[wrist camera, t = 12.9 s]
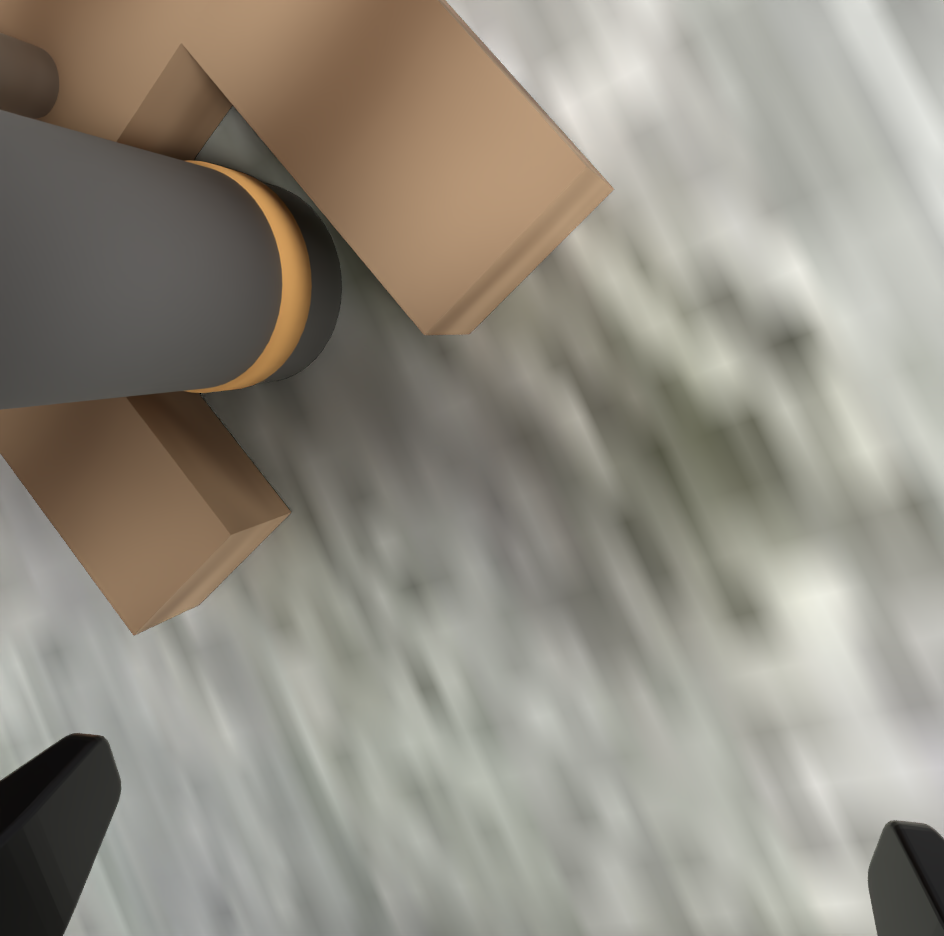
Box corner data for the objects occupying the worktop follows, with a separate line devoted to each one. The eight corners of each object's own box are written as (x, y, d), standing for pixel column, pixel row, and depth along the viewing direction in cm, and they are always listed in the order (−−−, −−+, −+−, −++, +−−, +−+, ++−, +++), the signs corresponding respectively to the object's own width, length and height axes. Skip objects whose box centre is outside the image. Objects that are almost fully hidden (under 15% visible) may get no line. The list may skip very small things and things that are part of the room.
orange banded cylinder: (381, 312, 19) (-285, 285, 7) (242, 422, 21) (-454, 543, 9) (275, 135, 19) (-537, -171, 8) (147, 261, 21) (-647, 177, 10)
